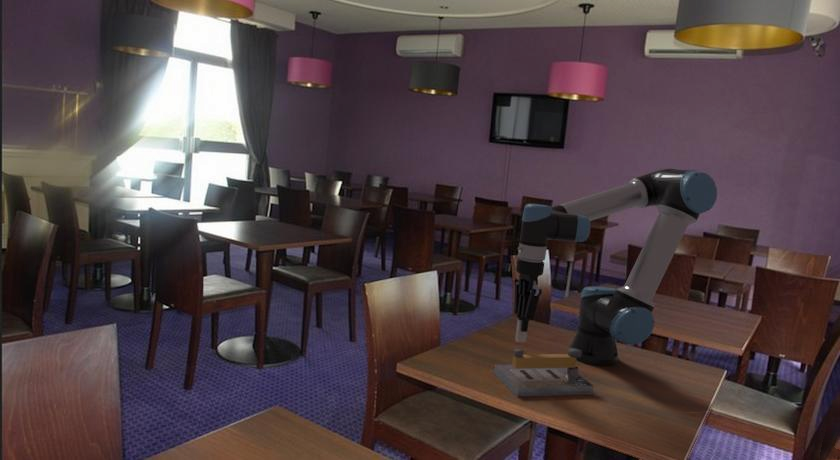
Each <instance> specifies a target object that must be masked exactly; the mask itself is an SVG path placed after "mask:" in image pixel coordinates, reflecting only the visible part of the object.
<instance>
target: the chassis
mask: <svg viewBox="0 0 840 460" xmlns="http://www.w3.org/2000/svg"><path fill="white" fill-rule="evenodd" d="M493 374H494V375H495V376H496V378H498V379H499V380H500V381H501V382H502V383H503V384H504V385H505V386H506V387H507V388H508V390H510V391H511V392H512V393H513V394H514V395H515V396H516V397H517V398H518V397H519V398H521V397H522V398H523V397H554V396H557V397H559V396H562V397H563V396H587V395H588V396H590V395H593V393H594V388H595V386H594V385H593V384H592V383H591V382H589V381H588V380H587V379H585V378H584V377H583V376H581V374H579V367H578V366H576V367H575V368H515V367H514V366H512V364H494V369H493Z"/></svg>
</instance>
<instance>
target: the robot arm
mask: <svg viewBox="0 0 840 460" xmlns="http://www.w3.org/2000/svg"><path fill="white" fill-rule="evenodd" d="M628 182H629V183H626V184H622V185H619V186H616V187H613V188H610V189H606V190H603V191H600V192H596V193H593V194H590V195H587V196H583V197H580V198H578V199H574V200H570V201H567V202H564V203H561V204H558V205H553V206H550V205H548V204H547V205H546V204H538V203H527V204H525V206H524V207H523V208H524V209H523V210H522V211H523V212H522V217H521V227H520V228H521V229H520V235H519V243H518V247H517V251H518V254H517V257H518V258H517V259H516V265H515V270H516V273H518V274H519V276H518V278H515V279H514V314H515V315H516V317H517V323H516V329H515V330H516V331H515V338H514V339H515V340H514V341H515V342H516V343H527V338H528V337H527V336H528V330H529V328H528V327H529V322H530V321H533V320H534V318H535V315H536V312H537V307H538V303H539V299H540V297H541V294H542V292H543V291H542V288H539V287H538V285H539V279H538V278H539V277H540V276H542V275H544V269H545V262H544V261H545V260H546V255H547V247H548V246H547V245H548V241H549V240H550V241H552V240H553V241H564V242H573V243H577V242H579V243H580V242H581V243H582V242H586V241H587V240H588V238H589V236H590V233H591V230H592V229H591V227H592V226H591V221H594V220H597V219H601V218H604V217H607V216H611V215H614V214H616V213H620V212H623V211H626V210H629V209H633V208H635V207H637V208H639V209H643V208H647V207H651V206H656V208H657V210H658V216H657V217H656V220H655V221H654V224H653V226H652V228H651V230H650V232H649V234H648V236H647V238H646V240H645V243H643V247H642V248H641V251H640V253H639V254H638V257H637V259H636V261H635V263H634V265H633V267H632V269H631V271H630V273H629V275H628V277H627V279H626V281H625V282H624V285H622V287H619V288H613V287H607V286H585V287H583V289H582V291H581V295H580V305H579V311H578V313H579V314H578V322H577V328H576V333H575V334H574V336H573V338H572V340H571V343H570V345H569V348H568V349H570V348H575V349H579V350H581V351H582V354H581V357H580V358H577V359H576V361H577V362H581V363H584V364H588V365H593V366H601V367H604V366H606V367H607V366H614V365H616V364H618V359H619V353H618V349H617V344H616V341H618V342H620V343H623V344H626V345H638V344H639V343H643V342H645V340H647V339H648V338H649V337H651V335H652V332H653V330H654V328H655V321H654V319H655V317H654V315H653V311H654V309H655V303H654V301H653V299H654V296H655V294H656V292H657V290H658V288H659V285H660V284H661V281H662V279H663V277H664V275H665V274H666V271H667V269H668V268H669V265H670V263H671V261H672V260H673V257H674V255H675V253H676V251H677V248H678V247H679V245H680V243H681V240H682V238H683V236H684V235H685V232H686V231H687V229H688V226H690V225H691V224H694V223H696V222H697V220H698V218H699V217H700V214H703V213H706V212H707V211H710V210H711V209H712V208H713V207H714V206H715V204H716V202H717V198H718V188H717V187H716V182H715V180H714V179H713V178H712V176H711V175H710V174H708V173H706V172H704V171H697V170H696V169H691V170H689V169H688V170H687V169H677V168H664V169H659V170H656V171H652V172H649V173H646V174H643V175H640V176H636V177H634V178H632V179H630V180H629V181H628Z"/></svg>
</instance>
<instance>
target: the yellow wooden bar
mask: <svg viewBox="0 0 840 460" xmlns="http://www.w3.org/2000/svg"><path fill="white" fill-rule="evenodd" d="M581 354H582V351H581V350H579V349H575V348H570V349H569V348H568V350H567V353H551V354H550V353H549V354H547V353H545V354H544V353H541V354H540V353H539V354H537V353H535V354H532V353H531V354H525V353H524V350H523V349H520V348H515V349H514V352H513V354H512V362H511V365H512V366H514V367H515V368H575V367H577V366H576V365H577V360H576V359H577V358H580V357H581Z"/></svg>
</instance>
